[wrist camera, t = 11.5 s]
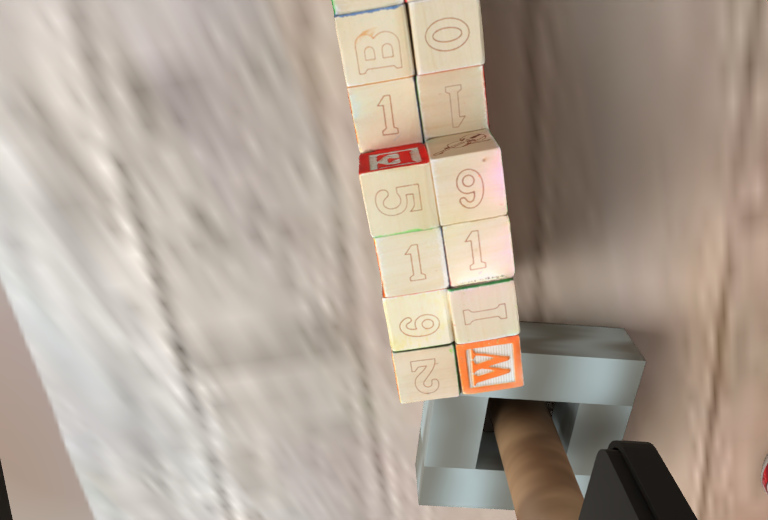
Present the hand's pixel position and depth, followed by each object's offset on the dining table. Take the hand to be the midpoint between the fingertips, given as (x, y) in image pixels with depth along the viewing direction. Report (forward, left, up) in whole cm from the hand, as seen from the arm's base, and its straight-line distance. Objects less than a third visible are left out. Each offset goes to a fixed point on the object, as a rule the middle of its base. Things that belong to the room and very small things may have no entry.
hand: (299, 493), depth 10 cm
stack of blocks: (-4, +1, -31) cm, 31 cm away
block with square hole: (-13, +20, -30) cm, 39 cm away
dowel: (-13, +20, -30) cm, 39 cm away
